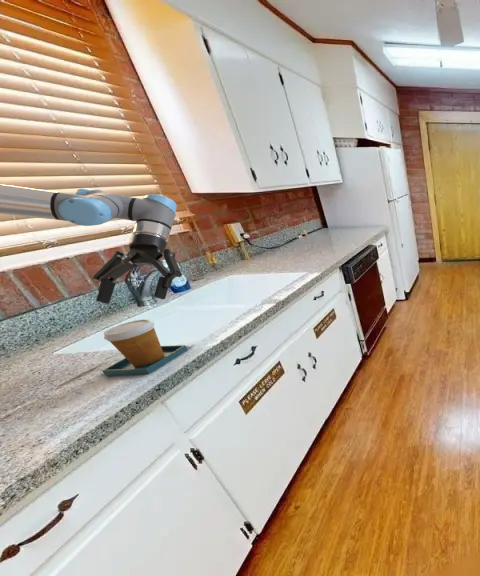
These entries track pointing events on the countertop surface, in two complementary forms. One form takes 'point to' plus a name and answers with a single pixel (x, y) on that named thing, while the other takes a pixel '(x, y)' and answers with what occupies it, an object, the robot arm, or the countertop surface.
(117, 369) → the cup tray
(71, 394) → the countertop surface
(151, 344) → the disposable coffee cup
